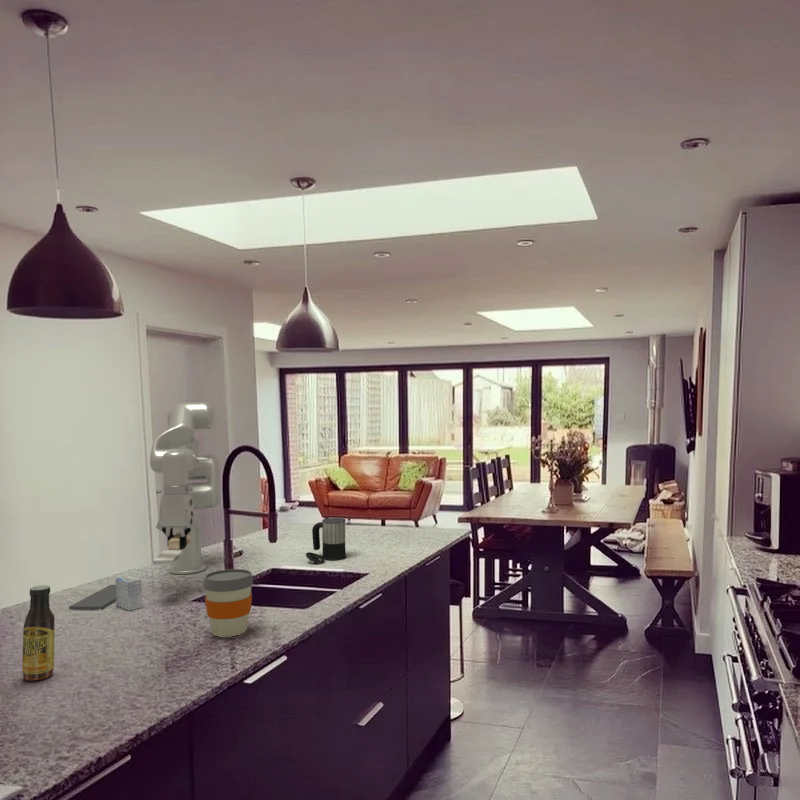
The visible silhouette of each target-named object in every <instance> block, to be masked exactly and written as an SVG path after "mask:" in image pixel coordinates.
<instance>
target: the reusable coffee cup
mask: <svg viewBox="0 0 800 800" xmlns="http://www.w3.org/2000/svg"><path fill="white" fill-rule="evenodd" d="M203 579H204V582H203V589H204V590H205V597H204V602H205V608H206V616H207V617H208V618H209V623H210V629H211V635H212V634H213V635H215V636H219V637H230V636H235V635H239V634H242V633H244V632H245V631H246V630H247V631H248V623H249V614H250V613H251V610H252V602H253V601H252V600H253V593H252V588H253V587H252V585H254V581H253V575H252V571H251V570H249V569H244V568H243V569H242V568H231V569H230V568H229V569H228V568H227V569H221V570H216V571H215V570H214V571H211V572H209V573H206V575H204V577H203ZM244 634H245V633H244ZM213 635H212V636H213ZM242 635H243V634H242ZM215 636H214V637H215ZM219 637H218V638H219ZM230 638H231V637H230Z"/></svg>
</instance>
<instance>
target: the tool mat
mask: <svg viewBox="0 0 800 800" xmlns="http://www.w3.org/2000/svg"><path fill="white" fill-rule="evenodd" d="M115 601H116V584H109V585H107V586H104V588H102V589H100V590H98V591H96V592H94V593H92V594H90V595H88V596H86V597H85V598H82V599H81V600H78V601H77V602H75V603H74V604H71V605H69V606H68V610H69V609H102V610H104V609H106V608H108V607H109V606H111V605H113V604H114V603H116V602H115ZM112 603H113V604H112ZM110 604H111V605H110ZM108 605H109V606H108ZM107 606H108V607H107ZM105 607H106V608H105ZM103 608H104V609H103Z"/></svg>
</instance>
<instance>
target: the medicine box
mask: <svg viewBox="0 0 800 800" xmlns="http://www.w3.org/2000/svg"><path fill="white" fill-rule="evenodd" d="M115 585H116V602H115V606H116V607H117V606H118V607H117V608H120V607H121V609H122V610H126V611H128V612H131V611H135V610H138V608H139V609H142V608H143V592H142V588H143V587H142V579H141V578H139V577H137V576H133V575H128V574H127V575H123V576H119V577H116V578H115ZM134 609H135V610H134ZM130 610H131V611H130Z"/></svg>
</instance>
